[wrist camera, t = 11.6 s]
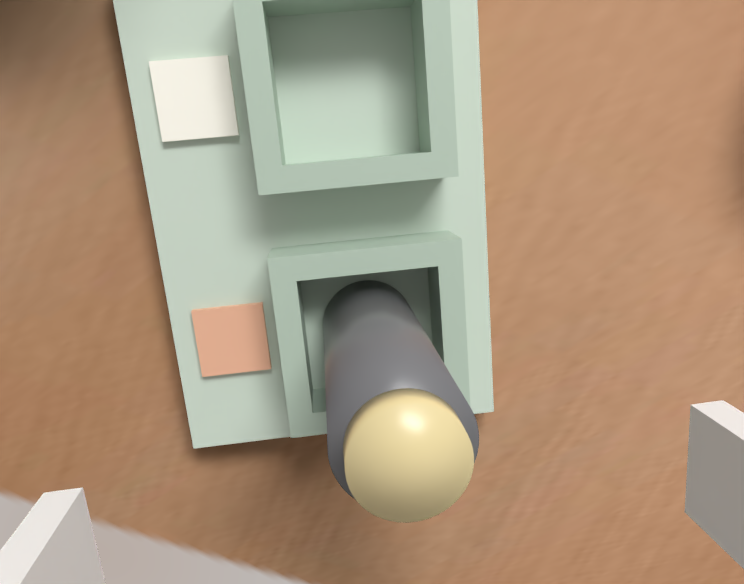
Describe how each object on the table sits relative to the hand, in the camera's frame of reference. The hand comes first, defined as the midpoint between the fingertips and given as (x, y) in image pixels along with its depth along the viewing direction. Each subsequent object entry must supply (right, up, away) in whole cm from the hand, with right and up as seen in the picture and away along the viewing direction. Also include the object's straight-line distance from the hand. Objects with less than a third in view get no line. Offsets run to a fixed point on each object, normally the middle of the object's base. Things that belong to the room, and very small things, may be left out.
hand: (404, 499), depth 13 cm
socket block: (-3, +8, +14) cm, 16 cm away
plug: (-1, +3, +13) cm, 14 cm away
